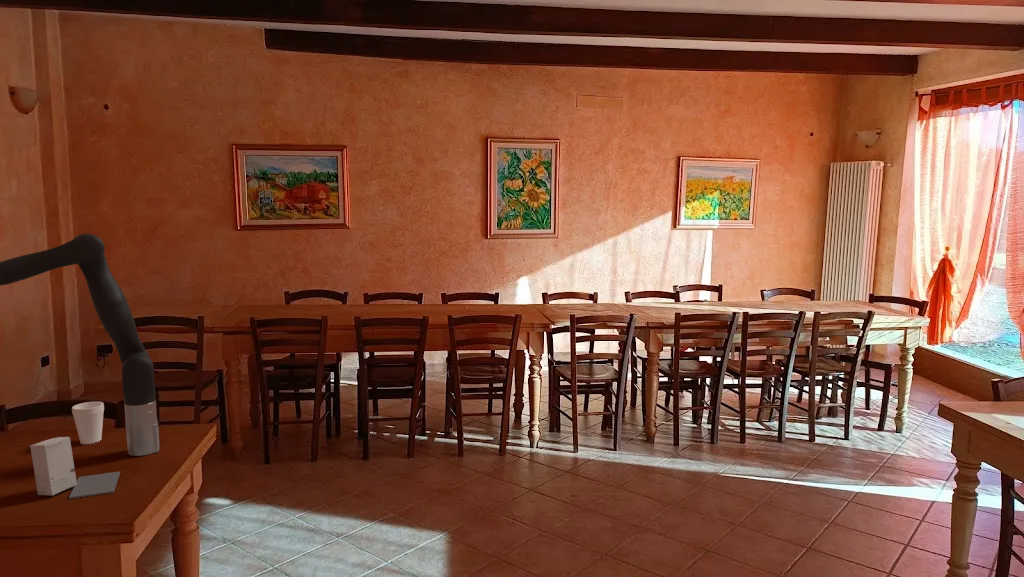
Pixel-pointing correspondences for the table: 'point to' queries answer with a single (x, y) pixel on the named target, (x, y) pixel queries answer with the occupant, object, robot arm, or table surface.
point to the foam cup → (89, 421)
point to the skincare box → (53, 465)
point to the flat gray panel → (95, 485)
